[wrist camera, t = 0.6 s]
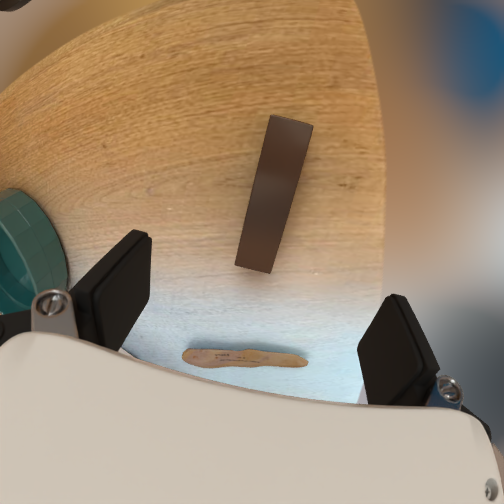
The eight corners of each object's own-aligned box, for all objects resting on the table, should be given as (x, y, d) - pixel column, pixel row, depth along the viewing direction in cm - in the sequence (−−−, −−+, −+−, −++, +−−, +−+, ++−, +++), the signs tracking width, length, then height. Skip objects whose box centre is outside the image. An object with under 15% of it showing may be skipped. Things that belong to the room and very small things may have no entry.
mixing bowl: (-14, 180, 25) (-46, 197, 19) (63, 197, 25) (24, 221, 20) (4, 280, 33) (-19, 302, 27) (78, 315, 34) (54, 346, 28)
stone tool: (310, 342, 30) (179, 338, 32) (310, 354, 29) (176, 350, 31) (305, 361, 34) (189, 357, 35) (306, 372, 33) (187, 368, 34)
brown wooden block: (271, 114, 21) (270, 114, 17) (308, 124, 21) (313, 125, 18) (239, 246, 26) (234, 265, 23) (271, 254, 26) (270, 274, 23)
